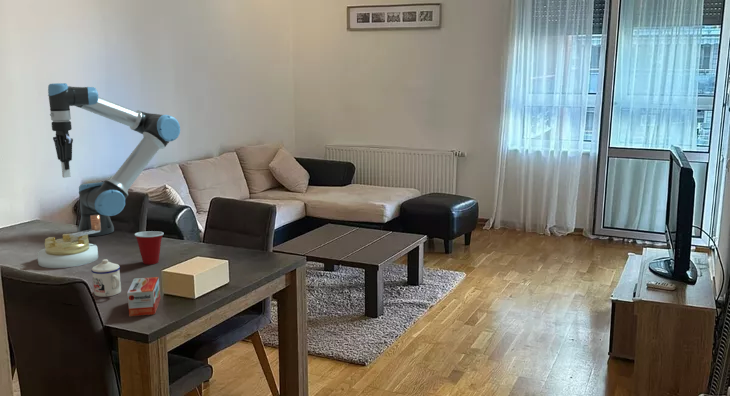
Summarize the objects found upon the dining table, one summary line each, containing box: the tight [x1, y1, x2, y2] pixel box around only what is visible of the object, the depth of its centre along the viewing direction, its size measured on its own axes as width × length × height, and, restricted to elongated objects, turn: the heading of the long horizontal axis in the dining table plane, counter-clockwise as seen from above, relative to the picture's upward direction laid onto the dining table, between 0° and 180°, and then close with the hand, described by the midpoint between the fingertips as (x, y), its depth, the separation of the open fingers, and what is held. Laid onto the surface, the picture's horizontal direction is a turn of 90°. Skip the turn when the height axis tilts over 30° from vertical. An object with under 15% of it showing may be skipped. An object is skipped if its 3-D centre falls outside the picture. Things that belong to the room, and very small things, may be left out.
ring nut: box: [44, 215, 101, 255], centre depth 278 cm, size 23×16×11 cm
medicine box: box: [126, 276, 161, 317], centre depth 223 cm, size 15×8×8 cm, turn 10°
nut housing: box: [37, 243, 99, 269], centre depth 277 cm, size 22×22×4 cm
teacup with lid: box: [90, 258, 122, 298], centre depth 236 cm, size 12×9×12 cm
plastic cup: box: [134, 230, 164, 265], centre depth 272 cm, size 11×11×12 cm
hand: (66, 177), depth 295 cm, fingers closed
